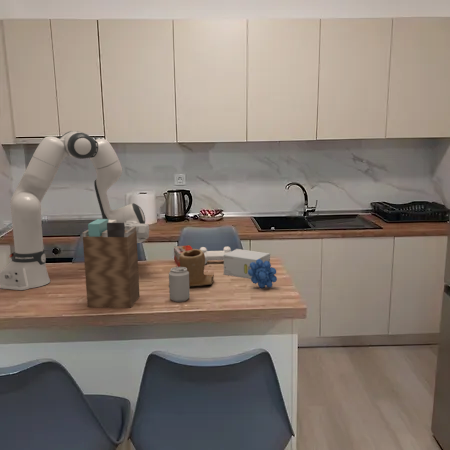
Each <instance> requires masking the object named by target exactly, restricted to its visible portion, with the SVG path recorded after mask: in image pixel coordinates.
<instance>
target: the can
mask: <svg viewBox="0 0 450 450" xmlns="http://www.w3.org/2000/svg"><path fill="white" fill-rule="evenodd" d="M168 286H169V287H168V288H169V290H168V291H169V299H170V300H171V301H172V302H176V303H182V302H183V303H184V302H187V300H188V299H190V297H191V296H190V286H189V272H188V271H187V268H185V267H178V266H175V267H171V268H170V269H169V273H168Z"/></svg>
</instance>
